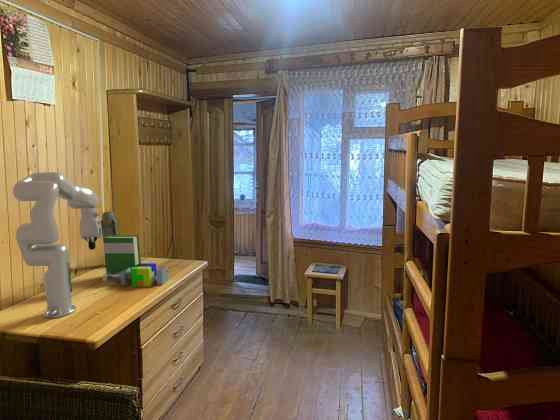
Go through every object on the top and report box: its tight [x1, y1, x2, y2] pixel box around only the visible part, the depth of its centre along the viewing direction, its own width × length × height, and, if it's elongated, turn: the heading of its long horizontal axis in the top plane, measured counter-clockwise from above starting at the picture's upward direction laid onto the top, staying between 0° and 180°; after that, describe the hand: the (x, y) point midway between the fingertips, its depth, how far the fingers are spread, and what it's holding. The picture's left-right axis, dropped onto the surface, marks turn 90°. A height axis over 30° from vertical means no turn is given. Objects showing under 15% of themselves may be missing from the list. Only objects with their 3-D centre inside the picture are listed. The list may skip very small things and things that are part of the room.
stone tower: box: [100, 210, 119, 239], centre depth 247 cm, size 9×12×35 cm
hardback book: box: [102, 234, 142, 280], centre depth 222 cm, size 18×7×24 cm, turn 84°
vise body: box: [113, 265, 169, 286], centre depth 212 cm, size 12×30×8 cm, turn 92°
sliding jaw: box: [102, 267, 132, 287], centre depth 211 cm, size 9×12×8 cm
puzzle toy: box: [131, 262, 157, 287], centre depth 210 cm, size 10×10×10 cm
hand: (92, 249), depth 208 cm, fingers closed
